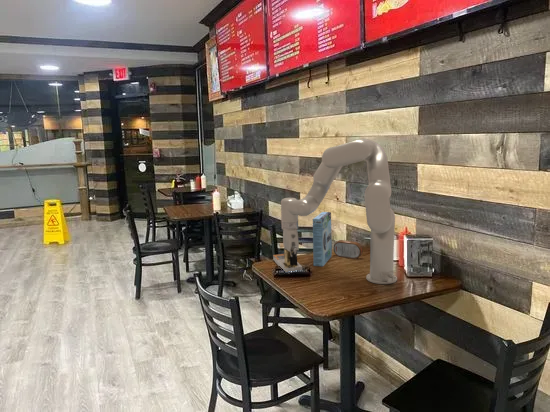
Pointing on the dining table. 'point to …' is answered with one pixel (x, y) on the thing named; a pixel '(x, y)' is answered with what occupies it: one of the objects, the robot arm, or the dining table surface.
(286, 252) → the nut block
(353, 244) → the tin
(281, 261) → the grey flat box
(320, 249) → the gum box
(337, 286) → the dining table surface
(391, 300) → the dining table surface
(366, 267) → the dining table surface
